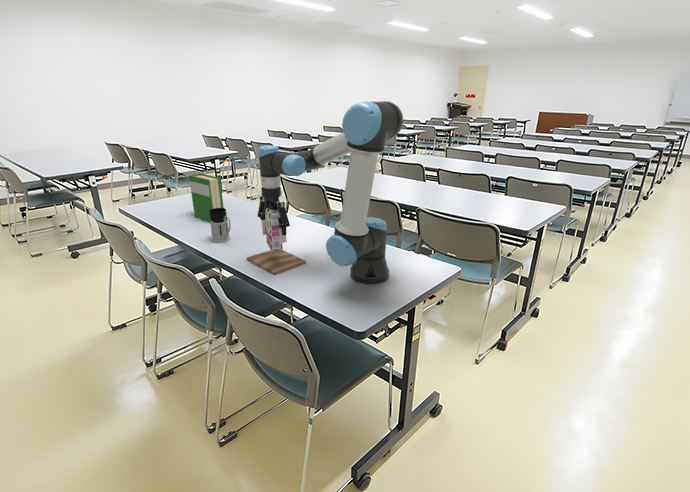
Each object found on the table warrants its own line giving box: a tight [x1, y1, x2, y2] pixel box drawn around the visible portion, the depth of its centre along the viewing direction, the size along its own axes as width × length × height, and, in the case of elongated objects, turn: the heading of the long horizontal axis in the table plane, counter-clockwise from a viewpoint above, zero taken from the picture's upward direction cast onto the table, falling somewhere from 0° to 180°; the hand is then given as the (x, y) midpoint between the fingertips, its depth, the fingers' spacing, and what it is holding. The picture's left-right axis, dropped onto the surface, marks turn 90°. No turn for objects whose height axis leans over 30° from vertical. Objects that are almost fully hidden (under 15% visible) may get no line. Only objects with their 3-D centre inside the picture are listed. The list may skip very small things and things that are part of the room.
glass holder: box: [209, 208, 231, 244], centre depth 183 cm, size 9×14×15 cm, turn 47°
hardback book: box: [188, 173, 225, 224], centre depth 213 cm, size 18×7×24 cm, turn 52°
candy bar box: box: [265, 208, 284, 251], centre depth 158 cm, size 11×5×16 cm, turn 21°
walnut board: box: [246, 249, 307, 276], centre depth 163 cm, size 20×16×1 cm
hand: (274, 238), depth 160 cm, fingers closed on candy bar box, 12 cm apart
